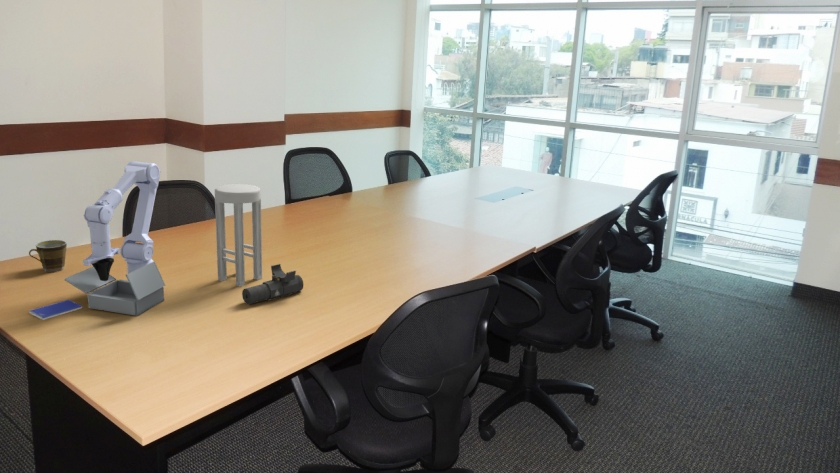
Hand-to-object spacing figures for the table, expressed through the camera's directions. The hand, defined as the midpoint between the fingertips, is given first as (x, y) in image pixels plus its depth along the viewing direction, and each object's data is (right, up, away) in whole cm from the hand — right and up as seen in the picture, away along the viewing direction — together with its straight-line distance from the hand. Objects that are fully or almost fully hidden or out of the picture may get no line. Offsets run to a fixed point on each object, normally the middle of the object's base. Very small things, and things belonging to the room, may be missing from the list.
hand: (104, 280), depth 214 cm
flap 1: (-5, 0, +1) cm, 5 cm away
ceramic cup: (-34, +2, +27) cm, 43 cm away
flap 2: (+15, 0, -4) cm, 16 cm away
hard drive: (-12, -10, -7) cm, 17 cm away
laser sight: (+54, -7, +13) cm, 56 cm away
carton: (+8, -8, 0) cm, 11 cm away
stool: (+37, -2, +28) cm, 47 cm away
